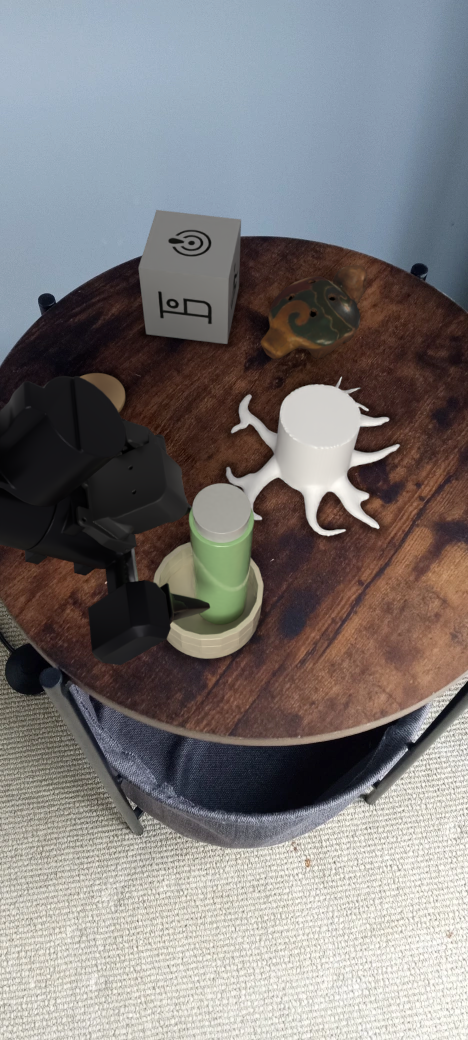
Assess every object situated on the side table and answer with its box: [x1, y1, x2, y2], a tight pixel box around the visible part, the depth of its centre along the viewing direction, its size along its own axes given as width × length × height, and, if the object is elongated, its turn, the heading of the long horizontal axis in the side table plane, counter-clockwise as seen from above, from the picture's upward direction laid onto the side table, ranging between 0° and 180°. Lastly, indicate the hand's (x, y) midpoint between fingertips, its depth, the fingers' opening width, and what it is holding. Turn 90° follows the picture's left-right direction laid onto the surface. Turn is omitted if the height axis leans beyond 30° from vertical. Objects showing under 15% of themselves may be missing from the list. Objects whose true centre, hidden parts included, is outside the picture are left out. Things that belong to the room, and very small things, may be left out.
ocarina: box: [260, 264, 368, 360], centre depth 85 cm, size 10×15×8 cm, turn 135°
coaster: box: [80, 372, 127, 413], centre depth 82 cm, size 7×7×1 cm
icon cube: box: [138, 209, 242, 345], centre depth 86 cm, size 10×10×10 cm
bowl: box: [152, 541, 264, 659], centre depth 67 cm, size 10×10×5 cm
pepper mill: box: [188, 482, 255, 624], centre depth 61 cm, size 5×5×17 cm
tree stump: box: [225, 376, 401, 537], centre depth 75 cm, size 20×19×8 cm
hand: (197, 558), depth 60 cm, fingers open, 9 cm apart
